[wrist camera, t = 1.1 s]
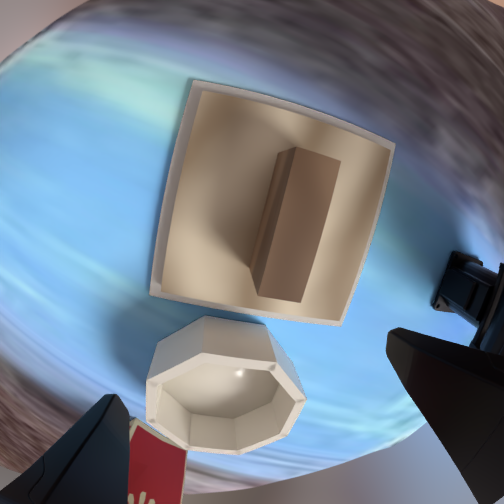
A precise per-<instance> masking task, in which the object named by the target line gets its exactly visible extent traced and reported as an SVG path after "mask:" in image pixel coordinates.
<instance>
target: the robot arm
mask: <svg viewBox="0 0 504 504" xmlns="http://www.w3.org/2000/svg"><path fill="white" fill-rule="evenodd" d="M499 268H500V269H499V272H498V274H497V273H495V272H493V271H491V270H489V269H487V268H485V267H483V262H482V261H480V260H477V259H475V258H472V257H470V256H467V255H465V254H462V253H460V252H457V251H453V252H452V254H451V257H450V260H449V263H448V266H447V269H446V272H445V275H444V278H443V280H442V283H441V286H440V288H439V291H438V294H437V296H436V299H435V301H434V303H433V309H434V310H436V311H443V312H452V313H457V314H458V315H459V316H461V317H462V318H464V319H465V320H466V321H468V322H469V323H471V324H472V325H473V326H475V327H476V328H477V332H476V334H475V336H474V338H473V340H472V341H471V343H470V345H469V347H468V346H464V345H460V344H457V343H453V342H449V341H446V340H442V339H439V338H435V337H432V336H428V335H425V334H421V333H418V332H414V331H411V330H407V329H404V328H400V327H398V328H395V329H393V330H390V331H389V332H388V335H387V344H386V354H387V357H388V359H389V360H390V362H391V364H392V366H393V368H394V370H395V371H396V373H397V375H398V377H399V379H400V381H401V382H402V384H403V386H404V388H405V389H406V391H407V392H408V394H409V395H410V397H411V398H412V400H413V401H414V403H415V404H416V406H417V407H418V408H419V410H420V411H421V413H422V414H423V416H424V417H425V419H426V420H427V422H428V423H429V425H430V426H431V428H432V429H433V431H434V432H435V434H436V435H437V437H438V438H439V440H440V441H441V443H442V444H443V446H444V447H445V449H446V450H447V452H448V454H449V455H450V457H451V458H452V460H453V462H454V463H455V465H456V466H457V468H458V469H459V471H460V472H461V475H462V477H463V478H464V480H465V481H466V483H467V485H468V486H469V488H470V490H471V492H472V493H473V495H474V497H475V498H476V500H477V502H478V504H494V503H495V502H496V501H498V500H499V499H500V498H502V497H503V496H504V263H500V266H499ZM129 462H130V431H129V412H128V410H127V408H126V407H125V405H124V404H123V402H122V401H121V399H120V397H119V396H118V395H117V394H106V395H104V396H103V397H102V398H101V399H100V400H99V401H98V402H97V403H96V404H95V405H94V406H93V407H92V408H91V409H90V410H89V411H88V412H86V413H85V414H84V415H83V416H82V417H81V418H80V419H79V420H78V421H77V422H76V423H75V424H74V425H73V426H72V427H71V428H70V429H69V430H68V431H67V432H66V433H65V434H64V435H63V436H62V437H61V438H60V439H59V440H58V441H57V442H56V443H55V444H54V445H52V446H51V447H50V448H49V449H48V450H47V451H46V452H45V453H44V454H43V456H41V457H40V458H39V459H38V460H37V461H36V462H35V463H34V464H33V465H32V466H31V467H29V468H28V469H27V470H26V471H25V472H24V473H22V474H21V475H20V476H19V477H17V478H16V479H15V480H14V481H12V482H11V483H10V484H9V485H7V486H6V487H5V488H3V489H2V490H1V491H0V504H128V479H129Z"/></svg>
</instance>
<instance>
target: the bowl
mask: <svg viewBox="0 0 504 504" xmlns="http://www.w3.org/2000/svg"><path fill="white" fill-rule="evenodd" d="M306 400H307V398H306V396H305V393H304V390H303V388H302V385H301V383H300V380H299V377H298V375H297V372H296V370H295V367H294V364H293V362H292V361H291V359H290V358H289V357H288V355H287V354H286V353H285V351H284V350H283V349H282V347H281V346H280V344H279V343H278V342H277V340H276V339H275V338H274V336H273V335H272V333H271V332H270V331H269V329H268V328H267V327H266V325H261V324H255V323H248V322H242V321H235V320H229V319H223V318H218V317H212V316H207V315H204V316H203V317H201V318H199V319H197V320H196V321H194V322H192V323H191V324H189V325H187V326H185V327H184V328H182V329H180V330H178V331H177V332H175V333H173V334H171V335H170V336H168V337H166V338H164V339H162V340H161V341H159V342H158V343H157V346H156V349H155V352H154V356H153V359H152V362H151V366H150V369H149V372H148V376H147V379H146V421H147V422H148V423H149V424H150V425H152V426H153V427H154V428H156V429H157V430H158V431H160V432H161V433H162V434H164V435H165V436H166V437H168V438H169V439H171V440H172V441H173V442H175V443H176V444H178V445H179V446H181V447H182V448H184V449H185V450H192V451H200V452H209V453H219V454H232V455H240V454H243V453H246V452H249V451H252V450H254V449H257V448H259V447H262V446H265V445H267V444H270V443H272V442H274V441H277V440H279V439H281V438H284V437H286V436H287V435H288V434H289V432H290V430H291V428H292V426H293V425H294V423H295V421H296V419H297V417H298V416H299V414H300V412H301V410H302V408H303V406H304V404H305V402H306Z"/></svg>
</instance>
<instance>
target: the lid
mask: <svg viewBox="0 0 504 504" xmlns="http://www.w3.org/2000/svg"><path fill="white" fill-rule="evenodd" d="M390 152H391V150H389V149H387V148H385V147H383V146H381V145H379V144H376V143H374V142H372V141H369V140H367V139H365V138H362V137H360V136H358V135H355V134H353V133H350V132H348V131H345V130H343V129H340V128H337V127H335V126H332V125H329V124H326V123H324V122H321V121H318V120H315V119H312V118H309V117H306V116H303V115H300V114H297V113H294V112H290V111H287V110H284V109H280V108H277V107H273V106H269V105H266V104H262V103H258V102H254V101H250V100H246V99H242V98H237V97H233V96H228V95H223V94H218V93H213V92H208V91H203V92H202V95H201V98H200V102H199V105H198V109H197V112H196V116H195V120H194V123H193V127H192V131H191V135H190V138H189V142H188V146H187V150H186V155H185V159H184V163H183V167H182V172H181V176H180V181H179V186H178V190H177V195H176V200H175V205H174V210H173V216H172V221H171V226H170V232H169V238H168V244H167V250H166V257H165V263H164V270H163V277H162V285H161V292H165V293H170V294H174V295H179V296H184V297H189V298H194V299H199V300H204V301H210V302H215V303H221V304H226V305H232V306H238V307H243V308H249V309H256V310H262V311H268V312H275V313H281V314H288V315H295V316H303V317H310V318H318V319H326V320H334V321H340V319H341V316H342V314H343V311H344V309H345V306H346V303H347V301H348V298H349V295H350V293H351V290H352V287H353V284H354V281H355V279H356V276H357V273H358V270H359V267H360V264H361V261H362V258H363V255H364V252H365V248H366V245H367V242H368V239H369V235H370V232H371V229H372V225H373V222H374V218H375V214H376V211H377V207H378V203H379V199H380V196H381V192H382V187H383V183H384V179H385V175H386V170H387V166H388V161H389V156H390Z"/></svg>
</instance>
